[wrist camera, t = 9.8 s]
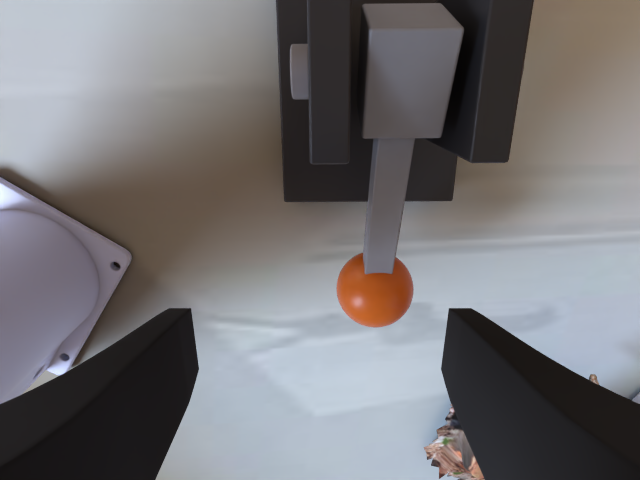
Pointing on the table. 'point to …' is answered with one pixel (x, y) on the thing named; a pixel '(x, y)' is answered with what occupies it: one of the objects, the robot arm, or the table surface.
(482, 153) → the housing
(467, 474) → the brown bird figurine
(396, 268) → the orange knob lever
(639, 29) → the table surface
